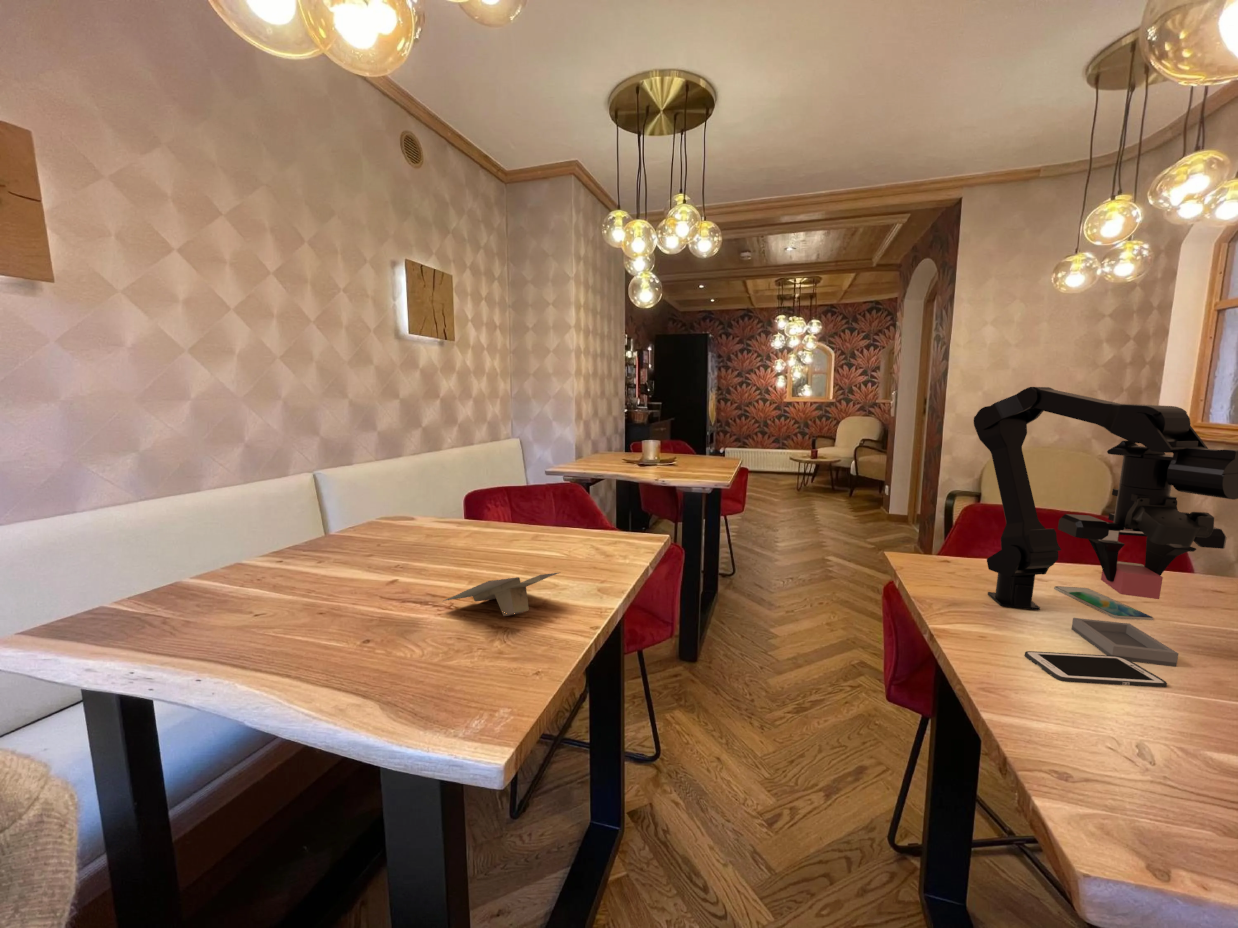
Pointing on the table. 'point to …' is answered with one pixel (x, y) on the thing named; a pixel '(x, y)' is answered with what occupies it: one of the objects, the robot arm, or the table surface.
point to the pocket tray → (1124, 641)
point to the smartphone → (1103, 603)
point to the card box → (1135, 580)
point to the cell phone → (1094, 669)
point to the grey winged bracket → (504, 593)
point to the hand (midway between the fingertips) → (1129, 582)
